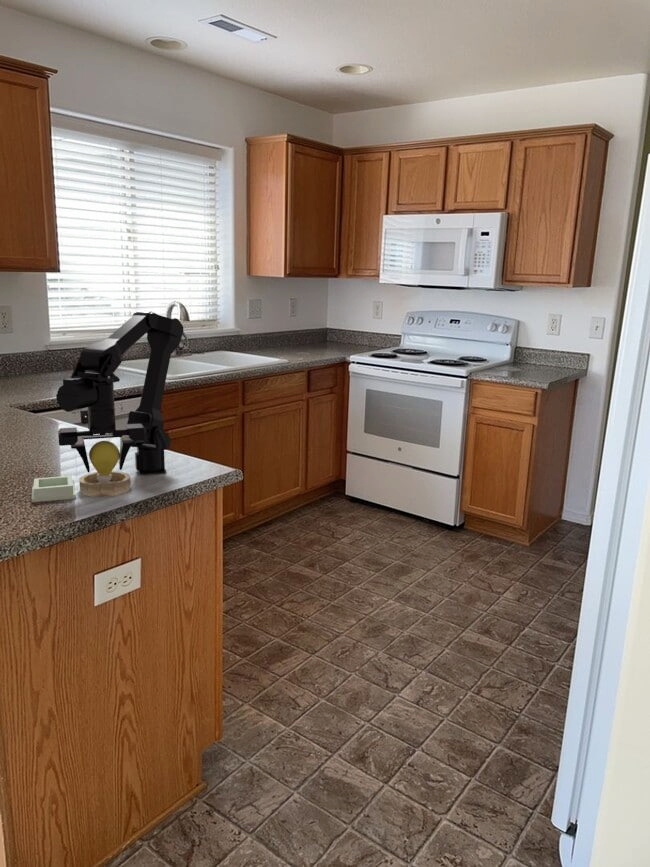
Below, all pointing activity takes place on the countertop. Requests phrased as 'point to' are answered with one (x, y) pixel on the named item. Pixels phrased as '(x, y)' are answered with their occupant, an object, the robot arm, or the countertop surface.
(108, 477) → the light bulb
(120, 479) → the round cradle
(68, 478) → the square socket
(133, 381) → the countertop surface
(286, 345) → the countertop surface
